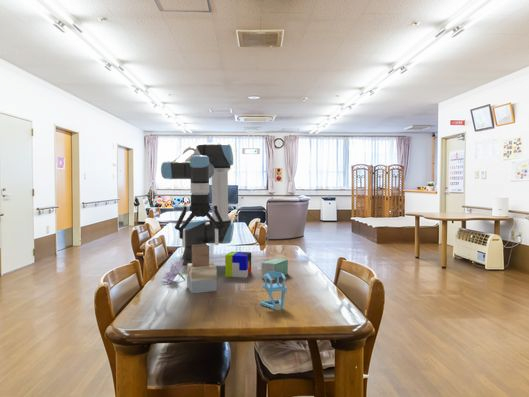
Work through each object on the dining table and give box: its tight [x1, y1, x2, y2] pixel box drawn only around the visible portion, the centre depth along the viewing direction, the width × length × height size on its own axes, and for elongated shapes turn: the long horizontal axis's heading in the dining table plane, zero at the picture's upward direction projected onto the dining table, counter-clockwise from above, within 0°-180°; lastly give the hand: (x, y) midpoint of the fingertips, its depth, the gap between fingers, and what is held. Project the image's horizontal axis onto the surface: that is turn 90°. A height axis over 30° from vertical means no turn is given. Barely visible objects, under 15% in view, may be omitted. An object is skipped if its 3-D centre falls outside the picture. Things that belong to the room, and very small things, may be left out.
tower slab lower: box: [186, 275, 217, 294], centre depth 155 cm, size 10×10×5 cm
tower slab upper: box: [186, 261, 218, 281], centre depth 155 cm, size 10×10×5 cm
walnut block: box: [192, 243, 210, 267], centre depth 155 cm, size 6×6×8 cm
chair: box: [259, 271, 288, 311], centre depth 133 cm, size 8×8×12 cm
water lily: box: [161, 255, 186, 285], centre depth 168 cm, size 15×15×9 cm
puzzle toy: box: [224, 251, 252, 278], centre depth 180 cm, size 10×10×10 cm
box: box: [261, 257, 289, 281], centre depth 176 cm, size 7×14×8 cm, turn 152°
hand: (200, 245), depth 155 cm, fingers open, 13 cm apart
